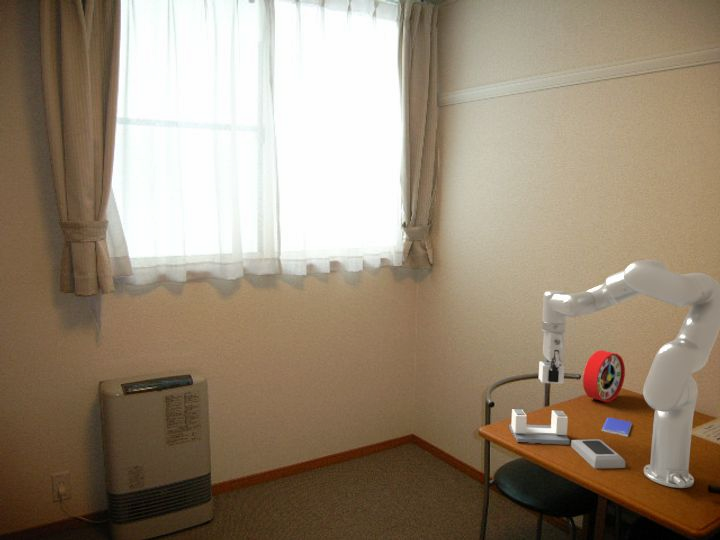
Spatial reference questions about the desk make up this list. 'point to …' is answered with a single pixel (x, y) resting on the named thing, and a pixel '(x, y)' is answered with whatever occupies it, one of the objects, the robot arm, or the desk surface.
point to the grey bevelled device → (598, 453)
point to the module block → (544, 372)
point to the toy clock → (604, 376)
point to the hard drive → (617, 426)
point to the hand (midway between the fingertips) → (550, 378)
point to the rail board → (540, 429)
